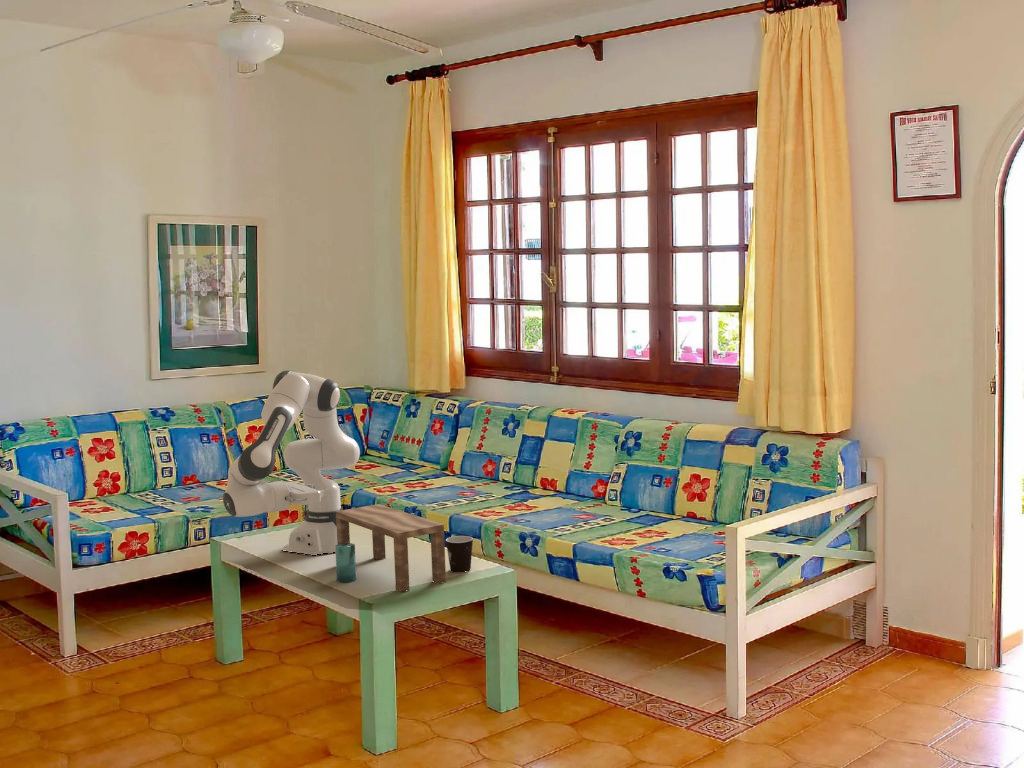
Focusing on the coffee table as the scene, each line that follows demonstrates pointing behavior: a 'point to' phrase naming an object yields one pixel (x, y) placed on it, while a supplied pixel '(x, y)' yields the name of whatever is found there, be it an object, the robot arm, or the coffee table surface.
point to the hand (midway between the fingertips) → (321, 489)
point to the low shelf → (395, 537)
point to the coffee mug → (459, 553)
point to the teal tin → (345, 562)
